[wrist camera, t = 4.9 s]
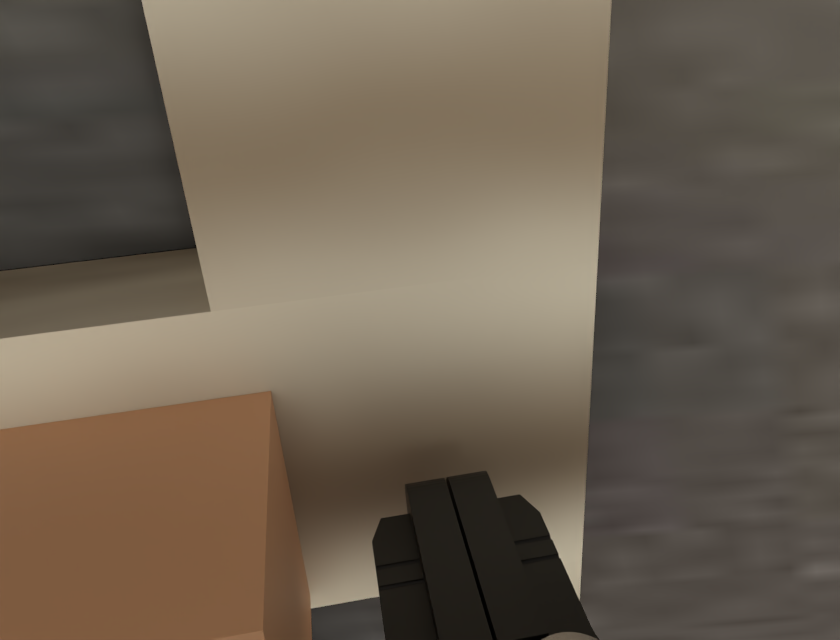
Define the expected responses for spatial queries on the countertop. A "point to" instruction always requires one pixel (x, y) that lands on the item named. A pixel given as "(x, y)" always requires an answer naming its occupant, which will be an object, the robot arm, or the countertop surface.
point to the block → (151, 527)
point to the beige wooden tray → (357, 257)
